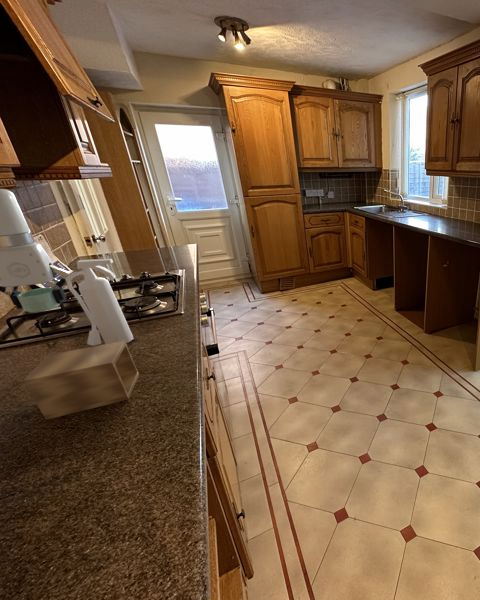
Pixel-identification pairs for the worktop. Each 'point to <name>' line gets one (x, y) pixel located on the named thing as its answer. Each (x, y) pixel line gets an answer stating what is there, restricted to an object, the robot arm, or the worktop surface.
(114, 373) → the wooden box
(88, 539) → the worktop surface
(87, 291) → the fire extinguisher
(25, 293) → the bowl
